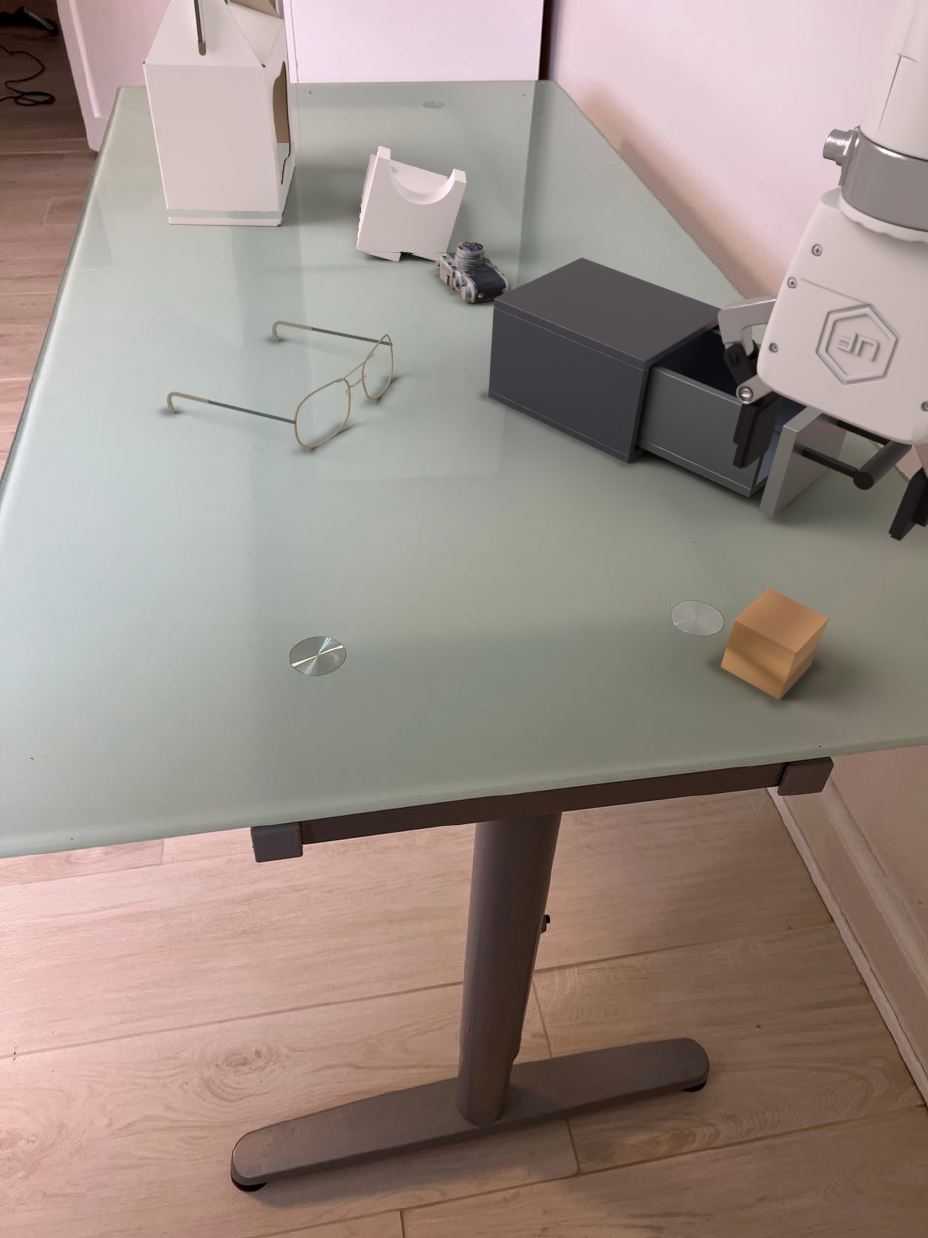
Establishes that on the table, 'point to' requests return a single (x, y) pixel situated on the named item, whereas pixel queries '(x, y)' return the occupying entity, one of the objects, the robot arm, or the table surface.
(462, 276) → the camera
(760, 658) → the block
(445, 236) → the white notched cradle
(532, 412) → the cabinet
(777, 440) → the pull-out drawer
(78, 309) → the table surface
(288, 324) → the eyeglasses
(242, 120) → the gable box
